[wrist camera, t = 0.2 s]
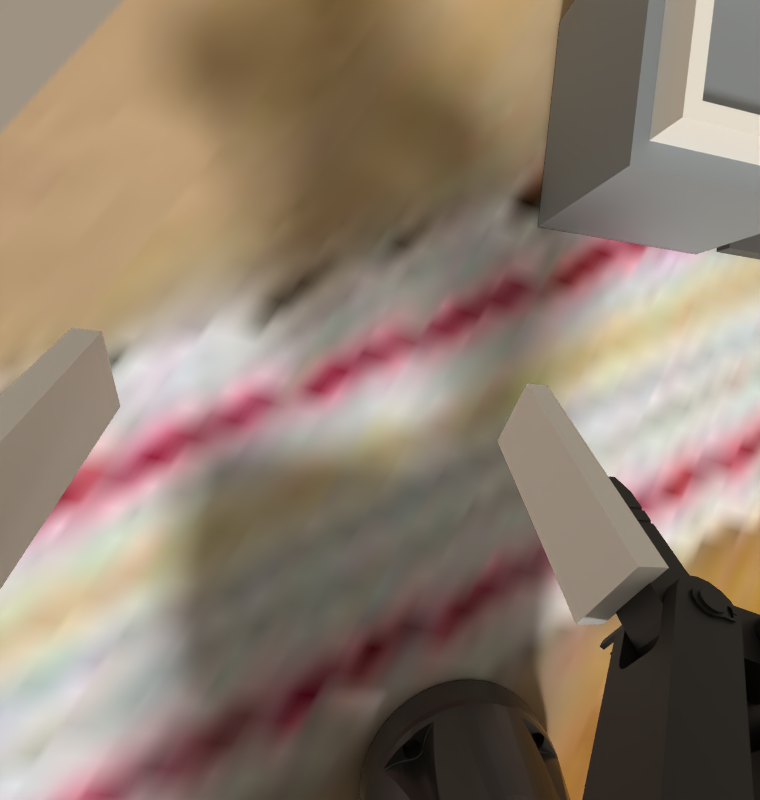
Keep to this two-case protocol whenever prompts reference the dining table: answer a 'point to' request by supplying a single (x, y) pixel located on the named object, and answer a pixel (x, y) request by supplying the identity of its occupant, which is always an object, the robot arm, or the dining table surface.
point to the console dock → (656, 123)
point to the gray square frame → (743, 247)
